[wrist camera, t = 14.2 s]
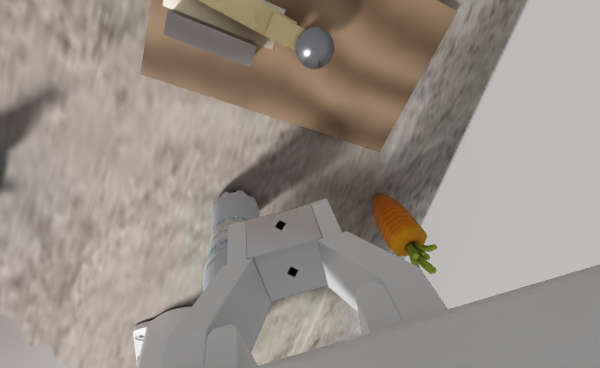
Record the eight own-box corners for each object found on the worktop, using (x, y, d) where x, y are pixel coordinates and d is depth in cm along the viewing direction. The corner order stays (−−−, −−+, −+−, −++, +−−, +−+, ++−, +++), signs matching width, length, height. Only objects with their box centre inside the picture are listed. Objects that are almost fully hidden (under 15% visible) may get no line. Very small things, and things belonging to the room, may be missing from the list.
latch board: (376, 148, 43) (391, 165, 38) (143, 71, 33) (129, 83, 28) (451, 11, 35) (481, 13, 31) (176, -147, 25) (164, -175, 21)
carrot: (358, 188, 46) (404, 261, 33) (389, 177, 46) (447, 246, 33) (364, 213, 48) (409, 289, 36) (393, 202, 48) (449, 274, 36)
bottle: (244, 176, 41) (250, 300, 24) (267, 210, 45) (287, 338, 28) (201, 198, 42) (178, 333, 25) (227, 230, 45) (223, 367, 29)
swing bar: (328, 33, 32) (341, 39, 28) (312, 66, 34) (322, 75, 30) (162, -64, 26) (149, -74, 22) (152, -19, 28) (137, -21, 24)
